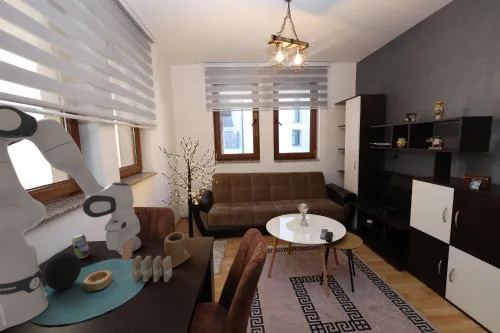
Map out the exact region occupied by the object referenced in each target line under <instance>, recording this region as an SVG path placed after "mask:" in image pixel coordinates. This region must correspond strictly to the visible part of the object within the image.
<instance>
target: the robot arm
mask: <svg viewBox="0 0 500 333" xmlns="http://www.w3.org/2000/svg"><path fill="white" fill-rule="evenodd" d="M24 140H27V141H29V142H30V143H33V145H34V146H35V147H36V148H37V149H38V151H39V152H40V154H41V155H42V157H43V158H44V159H45V160H46V162H47V163H49V165H50V166H51V167H53V168H54V169H55V170H58V171H60V172H63V173H65V174H68V175H69V176H70V177H71V178H72V179H73V180H74V181H75V182H76V183H77V185H78V187H80V189H81V190H82V191H83V193H84V196H85V200H84V201H83V204H82V210H83V213H84V214H85V215H86V216H88V217H90V218H102V217H104V216H107V215H111V217H110V219H109V220H108V222H107V223H105V225H104V230H105V231H106V233H105V243H106V248H107V249H108V251H116V250H117V249H118V250H119V253H118V254H119V255H120V256H122V255H123V254H124V253H125V249H123V244H125V243H126V242H127V241H129V240H130V239H131V247H132V246H133V240H134V236H136V235H138V234H139V233H140V231H141V224H140V220H139V218H138V216H137V214H135V212H136V211H135V208H134V202H135V201H134V193H133V190H132V186H131V185H130V184H128V183H127V182H120V181H119V182H112V183H109V185H107V186H106V187H103V186H102V185H100V184H99V183H98V181H97V180H96V178H95V177H94V175H93V174H92V172H91V171H90V170H89V168H88V166H87V164H86V162H85V160H84V157H83V155H82V152H81V150H80V148H79V147H78V144H77V143H76V142H75V140H74V138H73V137H72V136H71V135H70V133H69V132H68V131H67V129H66V128H65V127H64V126H63V125H62V124H61V123H60V122H59V121H58V120H56V119H55V118H54V119H53V118H39V119H37V118H36V117H35V116H33V115H31V114H29V113H27V112H26V111H25V110H24V111H23V110H22V109H20V108H18V107H15V106H13V105H7V104H0V332H2V331H5V330H6V329H9V328H11V327H14V326H17V325H20V324H21V325H22V324H23V323H25V322H28V321H29V320H33V319H34V318H35V317H37V316H39V315H40V314H42V313H43V312H44V311H45V310H46V309H47V308H48V306H49V300H48V294H47V293H46V292H45V287H44V284H43V281H42V271H41V268H40V267H39V261H38V260H39V259H38V252H37V249H36V247H35V246H34V245H30V244H28V242H27V240H26V237H25V233H26V232H28V231H30V230H31V229H34V228H35V227H37V226H38V225H39V224H40V223H41V222H42V221H43V220H44V219H45V218H46V216H47V209H46V208H47V207H46V206H45V205H44V204H43V203H42V202H40V201H38V200H36V199H35V198H34V197H32V196H31V194H29V192H28V191H27V190H26V189H25V187H24V186H23V185H22V183H21V181H20V179H19V176H18V174H17V172H16V170H15V167H14V164H13V162H12V159H11V156H10V155H9V150H8V147H9V146H11V145H15V144H17V143H20V142H21V141H24Z"/></svg>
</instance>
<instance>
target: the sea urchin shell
mask: <svg viewBox="0 0 500 333" xmlns="http://www.w3.org/2000/svg"><path fill="white" fill-rule="evenodd" d="M141 245H142V240H141V239H140V237H139V236H138V235H137V236H136V235H135V236H134V240H133V246H132V247H131V248H132V253H133V252H135V251H137V250H138V249H140V247H141ZM115 252H116V253H117V254H119V250H118V249H117V250H115Z"/></svg>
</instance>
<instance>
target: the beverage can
mask: <svg viewBox="0 0 500 333" xmlns="http://www.w3.org/2000/svg"><path fill="white" fill-rule="evenodd" d="M71 244H72V246H73V250H74V251H73V252H74V254H75V255H77V257H78V258H79V260H80V259H85V258H87V257H88V256H89V255H90V254H91V251H90V248H89V245H88V241H87V237H86V235H85V234H84V233H80V234H77V235H74V236H72V239H71Z"/></svg>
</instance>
